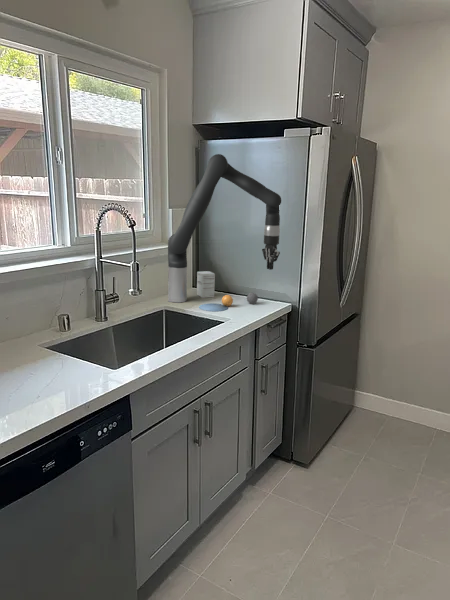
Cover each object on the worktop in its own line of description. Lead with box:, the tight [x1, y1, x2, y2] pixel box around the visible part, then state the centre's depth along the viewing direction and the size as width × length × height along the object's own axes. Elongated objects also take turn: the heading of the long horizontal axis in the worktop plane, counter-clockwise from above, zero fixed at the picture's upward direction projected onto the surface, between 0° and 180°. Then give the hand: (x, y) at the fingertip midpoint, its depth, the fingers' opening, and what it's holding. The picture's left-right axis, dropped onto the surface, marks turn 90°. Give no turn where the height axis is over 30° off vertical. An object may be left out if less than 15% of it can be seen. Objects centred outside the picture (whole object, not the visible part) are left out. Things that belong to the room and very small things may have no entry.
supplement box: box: [196, 270, 216, 299], centre depth 242 cm, size 7×7×13 cm
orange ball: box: [221, 294, 234, 307], centre depth 224 cm, size 6×6×6 cm
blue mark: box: [198, 303, 229, 312], centre depth 221 cm, size 14×14×1 cm
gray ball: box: [246, 292, 259, 305], centre depth 230 cm, size 6×6×6 cm
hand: (269, 269), depth 231 cm, fingers closed
